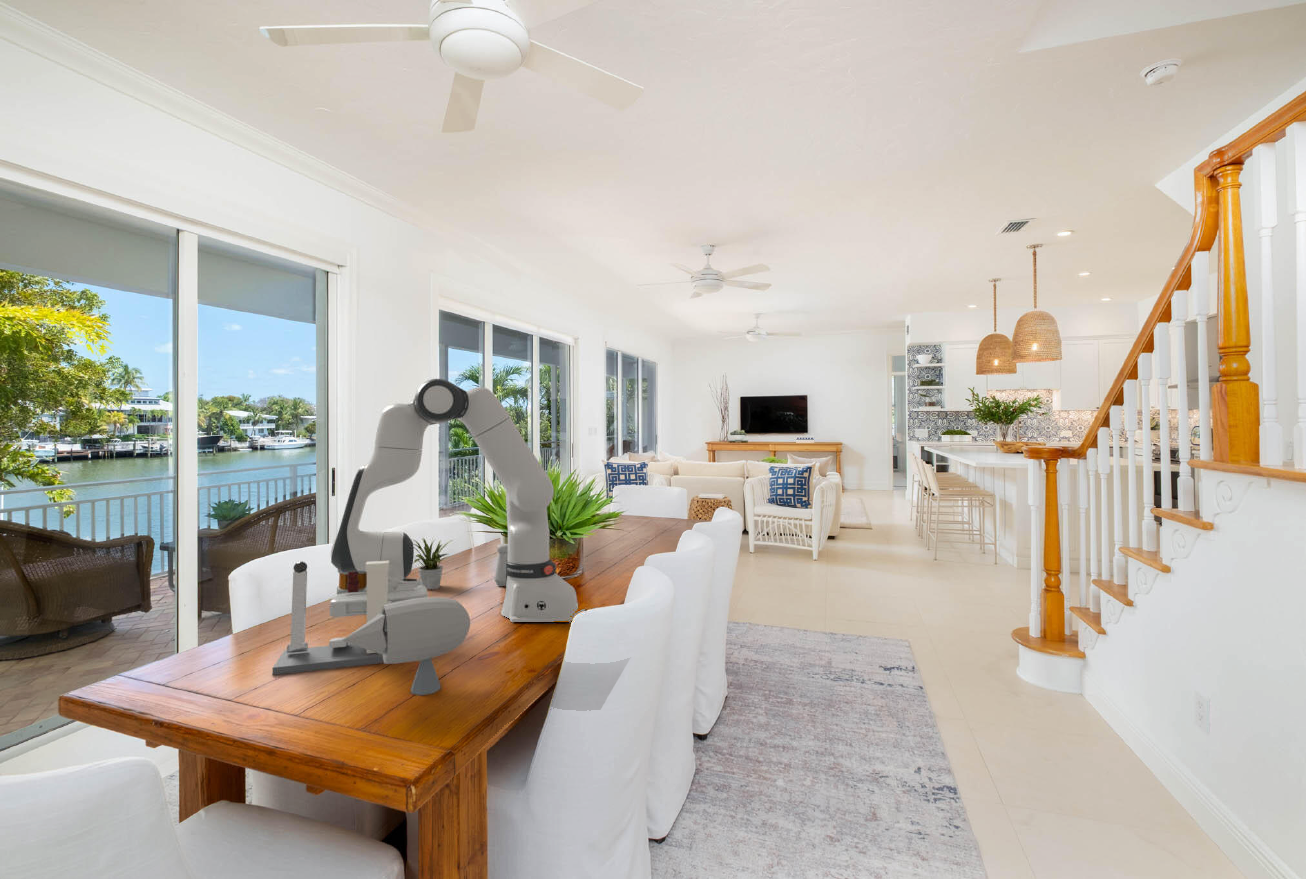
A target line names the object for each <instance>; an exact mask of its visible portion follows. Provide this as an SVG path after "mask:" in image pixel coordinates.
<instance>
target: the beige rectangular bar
mask: <svg viewBox="0 0 1306 879" xmlns="http://www.w3.org/2000/svg"><path fill="white" fill-rule="evenodd" d="M388 570H389V561H372V562H366V572H367V615H366V623H367V622H369V621H370V620H371V619H373V618H374V617H376V616H377V615H379V614H381V611H382V607H383V605H386V604H388ZM367 653H376V652H373V651H370V650H367Z"/></svg>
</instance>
